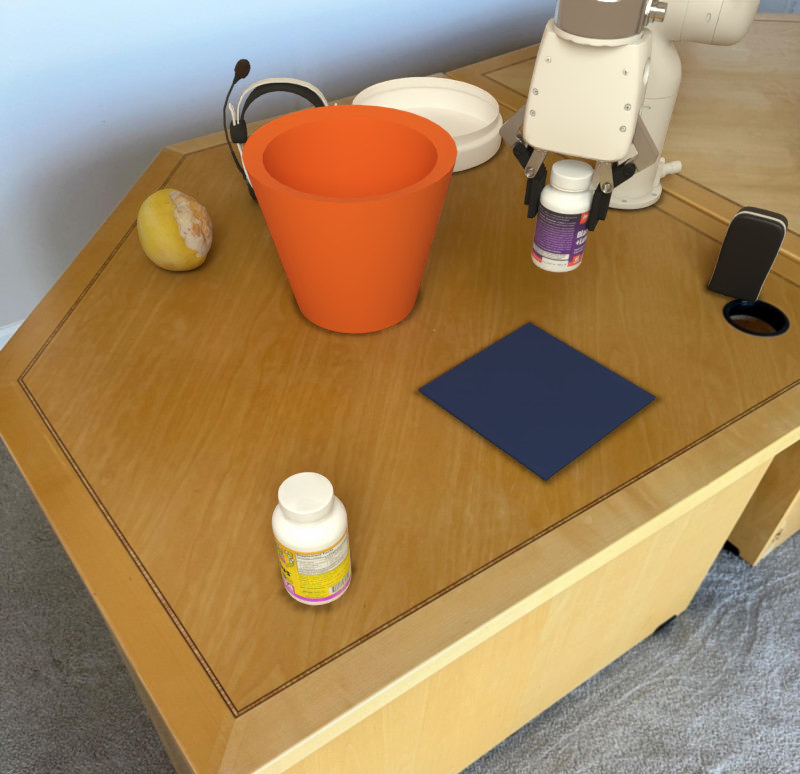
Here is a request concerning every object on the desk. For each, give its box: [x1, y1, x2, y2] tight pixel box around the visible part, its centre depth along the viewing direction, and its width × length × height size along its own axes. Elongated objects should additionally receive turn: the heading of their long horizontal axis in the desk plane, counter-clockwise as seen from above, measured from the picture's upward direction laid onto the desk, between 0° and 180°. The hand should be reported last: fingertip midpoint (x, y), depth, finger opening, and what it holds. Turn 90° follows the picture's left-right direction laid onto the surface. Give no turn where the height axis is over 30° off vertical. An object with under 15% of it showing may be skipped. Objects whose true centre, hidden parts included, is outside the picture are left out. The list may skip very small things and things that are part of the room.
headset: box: [222, 58, 338, 201], centre depth 113 cm, size 17×8×20 cm, turn 91°
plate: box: [351, 76, 504, 173], centre depth 133 cm, size 27×27×6 cm
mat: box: [418, 321, 656, 482], centre depth 91 cm, size 20×20×1 cm
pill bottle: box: [530, 159, 594, 273], centre depth 77 cm, size 5×5×10 cm
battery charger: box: [707, 205, 789, 303], centre depth 101 cm, size 7×4×11 cm, turn 60°
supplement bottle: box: [271, 471, 352, 606], centre depth 69 cm, size 7×7×13 cm
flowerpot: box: [242, 104, 458, 335], centre depth 96 cm, size 25×25×20 cm
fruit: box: [136, 188, 214, 272], centre depth 105 cm, size 10×11×10 cm
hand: (563, 216), depth 77 cm, fingers closed on pill bottle, 5 cm apart
